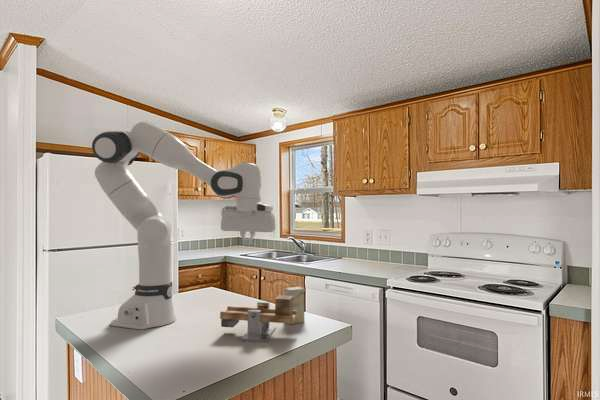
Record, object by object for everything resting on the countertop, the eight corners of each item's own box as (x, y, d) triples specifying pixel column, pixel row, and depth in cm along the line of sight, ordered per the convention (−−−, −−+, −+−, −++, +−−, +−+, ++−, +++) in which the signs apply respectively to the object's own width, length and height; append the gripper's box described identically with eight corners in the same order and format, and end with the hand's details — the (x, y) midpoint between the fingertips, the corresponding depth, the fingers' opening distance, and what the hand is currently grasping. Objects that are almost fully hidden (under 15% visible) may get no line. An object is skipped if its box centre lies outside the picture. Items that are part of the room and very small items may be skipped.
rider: (275, 317, 118) (275, 298, 118) (278, 313, 123) (278, 295, 123) (289, 318, 117) (290, 299, 117) (292, 314, 122) (292, 295, 122)
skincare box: (290, 324, 131) (289, 290, 131) (284, 321, 135) (283, 288, 135) (305, 321, 134) (304, 288, 134) (298, 318, 138) (298, 286, 138)
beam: (219, 327, 119) (219, 308, 119) (228, 319, 127) (228, 302, 128) (292, 333, 115) (292, 313, 115) (296, 324, 123) (297, 306, 123)
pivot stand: (241, 340, 115) (240, 311, 116) (253, 327, 128) (253, 300, 128) (265, 342, 114) (265, 312, 114) (275, 328, 127) (275, 301, 127)
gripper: (218, 205, 135) (217, 243, 135) (272, 206, 131) (271, 245, 131) (225, 206, 141) (224, 242, 141) (276, 207, 137) (276, 244, 137)
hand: (247, 244), depth 136 cm, fingers closed
